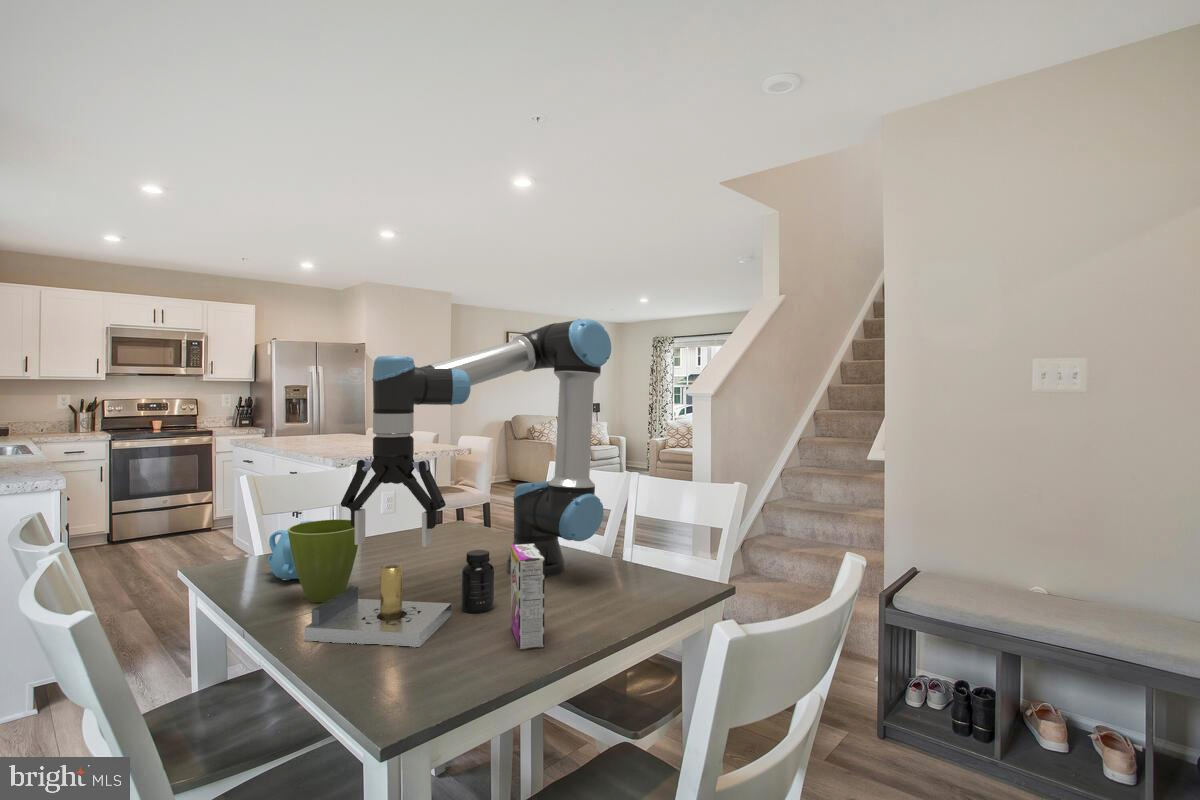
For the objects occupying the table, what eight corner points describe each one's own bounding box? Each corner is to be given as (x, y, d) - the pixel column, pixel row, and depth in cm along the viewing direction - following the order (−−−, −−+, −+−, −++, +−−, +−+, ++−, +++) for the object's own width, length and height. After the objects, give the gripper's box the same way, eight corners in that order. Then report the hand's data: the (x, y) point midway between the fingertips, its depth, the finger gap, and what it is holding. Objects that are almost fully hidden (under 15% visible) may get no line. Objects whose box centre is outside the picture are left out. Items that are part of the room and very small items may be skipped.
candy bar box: (508, 627, 116) (509, 544, 116) (534, 625, 117) (535, 542, 117) (517, 651, 105) (518, 559, 105) (545, 648, 106) (546, 557, 106)
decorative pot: (348, 578, 147) (349, 523, 147) (275, 589, 137) (276, 531, 138) (333, 563, 160) (334, 513, 160) (265, 572, 151) (266, 519, 151)
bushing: (405, 624, 117) (406, 564, 117) (396, 632, 113) (397, 570, 113) (386, 624, 117) (386, 563, 117) (376, 631, 113) (377, 569, 113)
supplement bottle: (458, 605, 128) (459, 549, 128) (489, 601, 131) (490, 547, 131) (464, 615, 122) (465, 557, 122) (497, 611, 125) (497, 554, 125)
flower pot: (324, 612, 123) (325, 536, 123) (271, 603, 128) (271, 530, 128) (374, 591, 137) (375, 522, 137) (325, 583, 142) (325, 517, 142)
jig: (451, 615, 122) (451, 588, 122) (419, 647, 106) (419, 617, 106) (350, 610, 124) (350, 584, 124) (304, 641, 108) (304, 611, 108)
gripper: (462, 434, 117) (461, 541, 117) (343, 433, 120) (343, 537, 120) (448, 437, 110) (447, 551, 110) (322, 435, 113) (321, 546, 113)
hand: (393, 544), depth 115 cm, fingers open, 13 cm apart
